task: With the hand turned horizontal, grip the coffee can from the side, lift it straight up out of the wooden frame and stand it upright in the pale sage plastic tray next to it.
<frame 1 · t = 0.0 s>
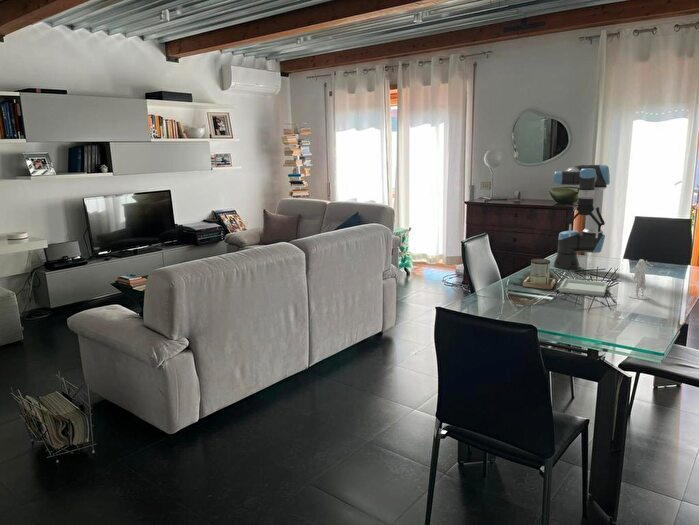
hand: (582, 237, 287), 28 cm above the table, tool pointing down, fingers open, 13 cm apart
tray: (583, 289, 288), on the table
female figurine: (637, 298, 270), on the table
coffee can: (539, 285, 299), resting in wooden frame
wooden frame: (539, 284, 299), on the table
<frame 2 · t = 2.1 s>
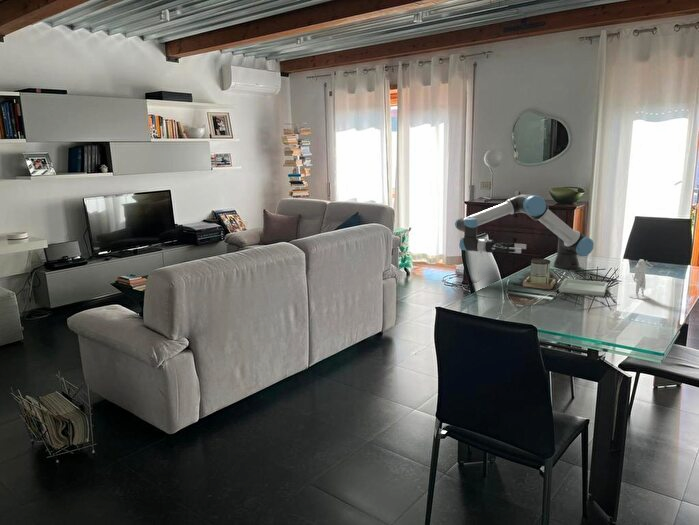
hand: (523, 248, 299), 20 cm above the table, tool horizontal, fingers open, 13 cm apart
nothing on the table moved.
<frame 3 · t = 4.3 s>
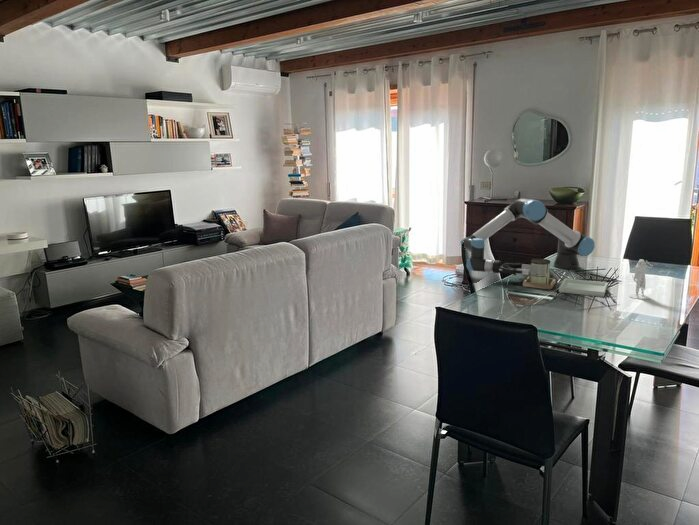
hand: (531, 269, 299), 8 cm above the table, tool horizontal, fingers open, 13 cm apart
nothing on the table moved.
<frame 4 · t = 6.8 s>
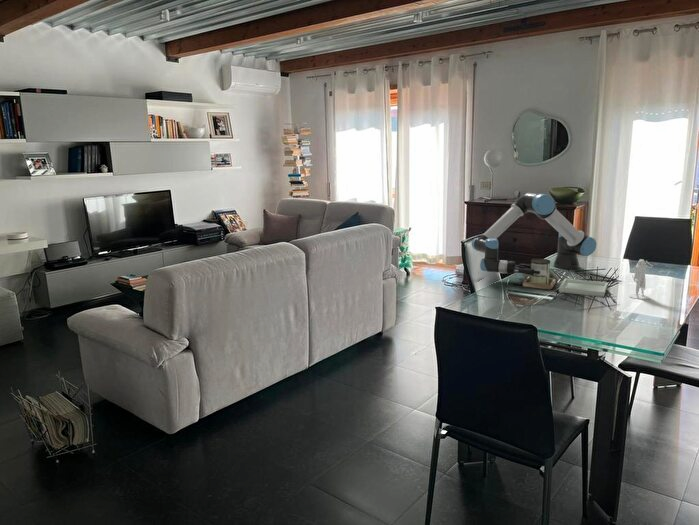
hand: (548, 270, 295), 9 cm above the table, tool horizontal, fingers closed on coffee can, 10 cm apart
coffee can: (539, 285, 299), resting in wooden frame, touching gripper
everything else where it was.
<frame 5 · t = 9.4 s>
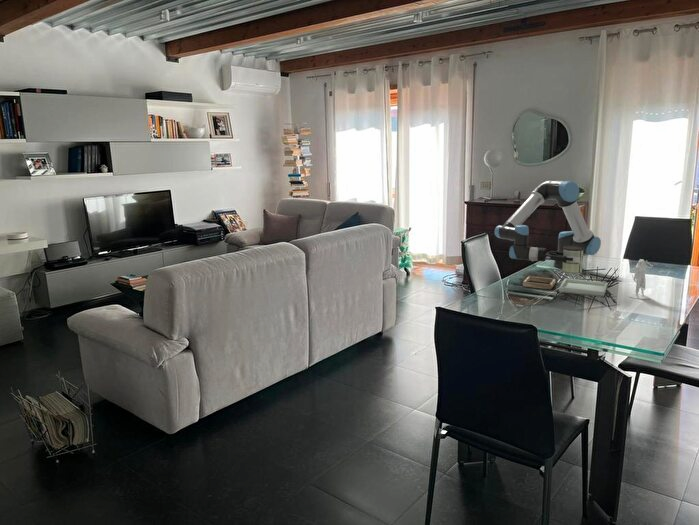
hand: (581, 257, 284), 18 cm above the table, tool horizontal, fingers closed on coffee can, 10 cm apart
coffee can: (571, 272, 288), point 9 cm above the table, touching gripper
everything else where it was.
when the fingers open (10 cm above the table, at t = 12.2 s): coffee can drops 1 cm, resting on tray.
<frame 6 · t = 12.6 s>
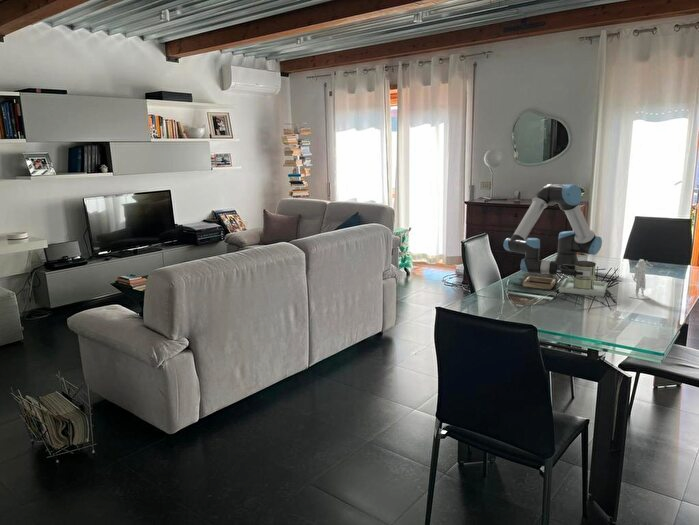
hand: (591, 271, 284), 10 cm above the table, tool horizontal, fingers open, 13 cm apart
coffee can: (583, 288, 287), point 1 cm above the table, touching tray
everything else where it was.
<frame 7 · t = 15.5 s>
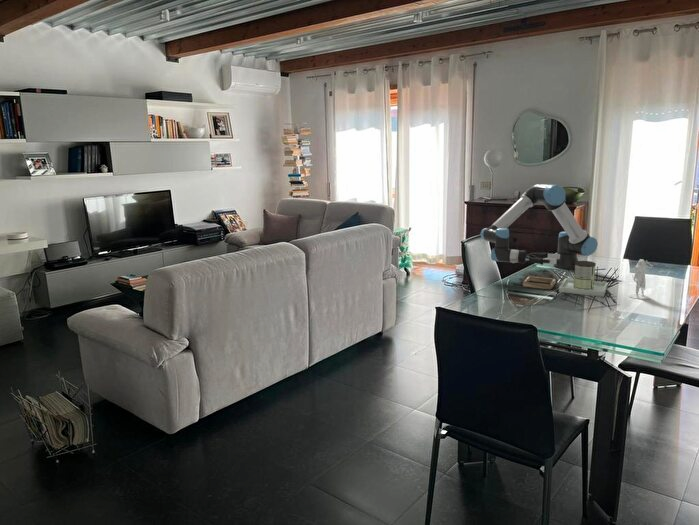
hand: (558, 259, 293), 15 cm above the table, tool horizontal, fingers open, 13 cm apart
nothing on the table moved.
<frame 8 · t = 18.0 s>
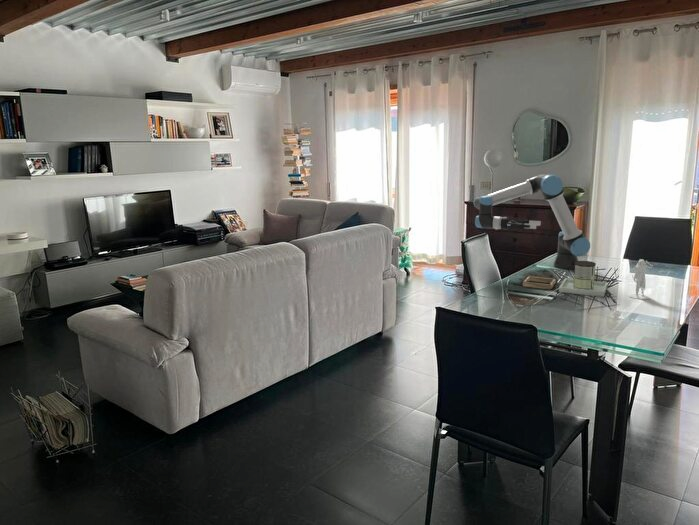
hand: (538, 224, 306), 32 cm above the table, tool horizontal, fingers open, 13 cm apart
nothing on the table moved.
at the end: coffee can inside the target area on the tray (0.1 cm from its centre), point 0.6 cm above the tray's base; coffee can tilted 0°; the gripper is holding nothing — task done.
